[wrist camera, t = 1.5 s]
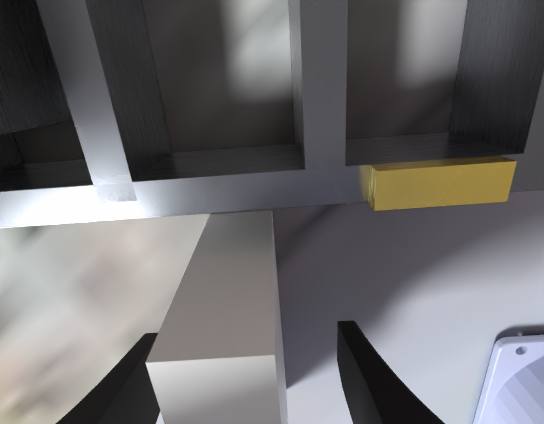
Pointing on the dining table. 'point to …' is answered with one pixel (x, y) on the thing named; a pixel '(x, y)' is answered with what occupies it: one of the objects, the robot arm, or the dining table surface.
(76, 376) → the dining table surface
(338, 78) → the rack
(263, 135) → the dining table surface
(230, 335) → the block
